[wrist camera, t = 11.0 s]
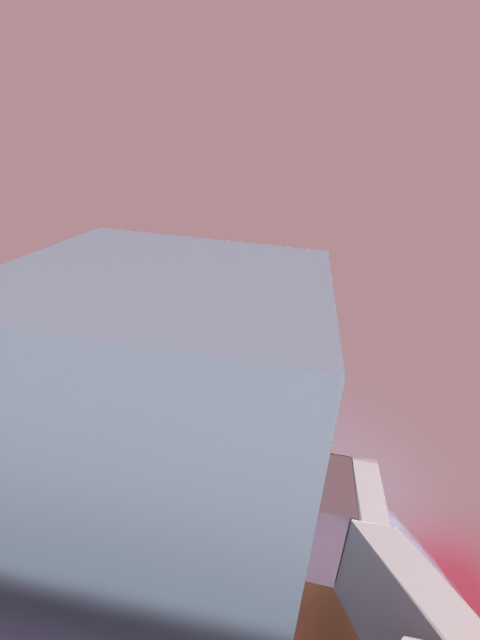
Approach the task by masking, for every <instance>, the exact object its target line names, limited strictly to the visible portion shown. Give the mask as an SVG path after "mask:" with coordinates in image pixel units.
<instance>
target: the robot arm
mask: <svg viewBox="0 0 480 640" xmlns="http://www.w3.org/2000/svg"><path fill="white" fill-rule="evenodd" d="M305 581H307V582H311V583H316V584H320V585H324V586H328V587H333V588H334V591H335V593H336V595H337V597H338V599H339V601H340V603H341V605H342V606H343V608H344V610H345V612H346V614H347V616H348V618H349V620H350V622H351V624H352V626H353V627H354V629H355V631H356V633H357V635H358V637H359V639H360V640H480V618H479V617H478V616H477V614H476V613H475V612H474V611H473V610H472V609H471V608H470V607H469V606H468V604H467V603H466V602H465V601H464V600H463V599H462V598H461V597H460V595H459V594H458V593H457V592H456V591H455V590H454V589H453V588H452V586H451V585H450V584H449V583H448V582H447V581H446V580H445V579H444V577H443V576H442V575H441V574H440V573H439V572H438V571H437V570H436V568H435V567H434V566H433V565H432V564H431V563H430V562H429V561H428V560H427V558H426V557H425V556H424V555H423V554H422V553H421V552H420V551H419V549H418V548H417V547H416V546H415V545H414V544H413V543H412V542H411V540H410V539H409V538H408V537H407V536H406V535H405V534H404V533H403V531H402V530H401V529H400V528H397V527H392V526H391V523H390V518H389V513H388V508H387V504H386V499H385V494H384V490H383V485H382V480H381V475H380V472H379V466H378V463H377V461H376V460H375V459H369V458H362V457H355V456H350V457H349V456H345V455H338V454H332V453H330V458H329V463H328V468H327V473H326V478H325V483H324V488H323V493H322V498H321V503H320V508H319V513H318V518H317V523H316V528H315V533H314V538H313V543H312V548H311V553H310V558H309V564H308V569H307V574H306V579H305Z"/></svg>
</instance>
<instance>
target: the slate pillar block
mask: <svg viewBox="0 0 480 640" xmlns="http://www.w3.org/2000/svg"><path fill="white" fill-rule="evenodd" d="M344 382H345V370H344V362H343V355H342V349H341V341H340V334H339V326H338V320H337V313H336V306H335V298H334V290H333V283H332V277H331V269H330V262H329V254H328V251H325V250H315V249H305V248H296V247H286V246H276V245H266V244H256V243H247V242H237V241H227V240H216V239H206V238H197V237H187V236H177V235H167V234H158V233H147V232H138V231H128V230H118V229H107V228H98V229H95V230H92V231H90V232H87V233H84V234H81V235H79V236H76V237H74V238H71V239H68V240H66V241H63V242H60V243H58V244H55V245H52V246H50V247H47V248H44V249H42V250H39V251H36V252H34V253H31V254H28V255H26V256H23V257H20V258H18V259H15V260H12V261H10V262H7V263H5V264H2V265H0V640H293V639H294V634H295V629H296V624H297V619H298V614H299V609H300V604H301V599H302V594H303V589H304V584H305V579H306V574H307V569H308V564H309V558H310V553H311V548H312V543H313V538H314V533H315V528H316V523H317V518H318V513H319V508H320V503H321V498H322V493H323V488H324V483H325V478H326V473H327V468H328V463H329V458H330V452H331V448H332V443H333V437H334V432H335V427H336V422H337V417H338V412H339V407H340V402H341V397H342V391H343V387H344Z"/></svg>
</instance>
